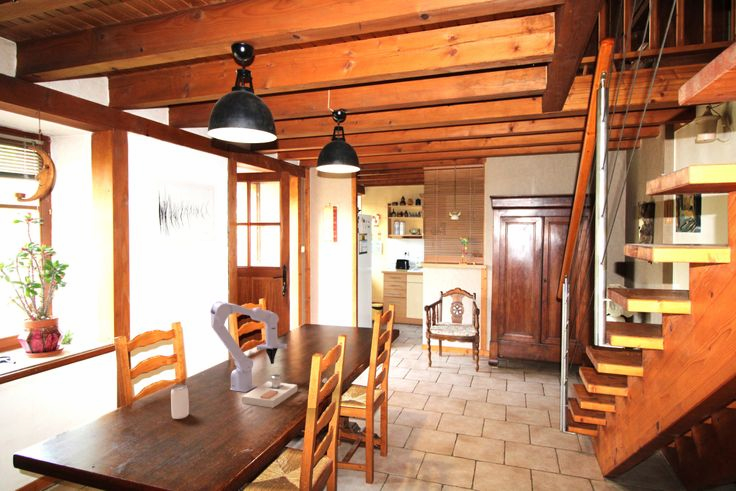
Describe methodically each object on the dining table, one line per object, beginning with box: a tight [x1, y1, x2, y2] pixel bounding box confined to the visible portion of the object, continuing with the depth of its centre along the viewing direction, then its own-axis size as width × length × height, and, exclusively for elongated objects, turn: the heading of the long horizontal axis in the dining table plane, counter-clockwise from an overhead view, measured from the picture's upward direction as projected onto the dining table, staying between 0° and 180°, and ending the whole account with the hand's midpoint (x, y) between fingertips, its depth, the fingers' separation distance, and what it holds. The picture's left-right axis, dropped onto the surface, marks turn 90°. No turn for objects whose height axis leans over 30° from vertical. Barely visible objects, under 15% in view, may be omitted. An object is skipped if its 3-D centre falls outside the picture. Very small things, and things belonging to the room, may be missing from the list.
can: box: [170, 384, 190, 420], centre depth 177 cm, size 6×6×12 cm
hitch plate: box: [241, 380, 298, 409], centre depth 196 cm, size 16×20×3 cm
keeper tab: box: [260, 390, 278, 399], centre depth 190 cm, size 4×8×1 cm, turn 159°
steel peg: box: [270, 373, 282, 389], centre depth 200 cm, size 5×5×8 cm
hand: (272, 363), depth 215 cm, fingers closed
